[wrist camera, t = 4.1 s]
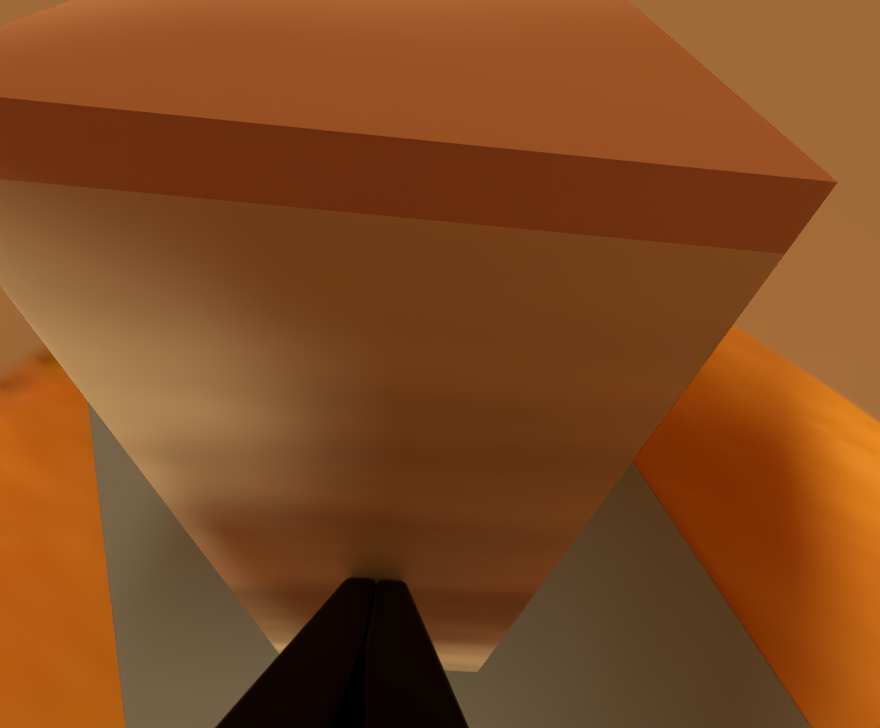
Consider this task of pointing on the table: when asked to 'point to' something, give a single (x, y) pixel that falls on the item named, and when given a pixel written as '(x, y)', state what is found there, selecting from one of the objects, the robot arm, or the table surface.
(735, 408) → the table surface
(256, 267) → the maple block
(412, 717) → the robot arm
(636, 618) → the rubber mat
